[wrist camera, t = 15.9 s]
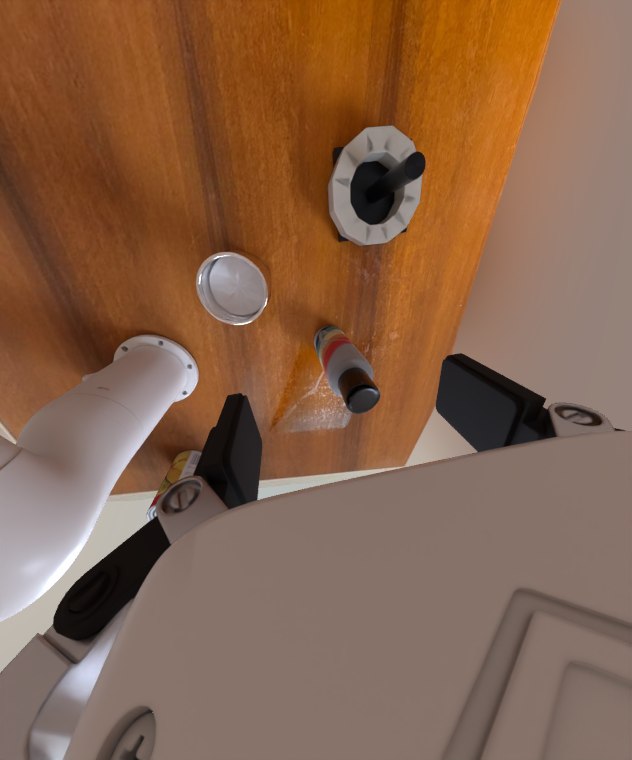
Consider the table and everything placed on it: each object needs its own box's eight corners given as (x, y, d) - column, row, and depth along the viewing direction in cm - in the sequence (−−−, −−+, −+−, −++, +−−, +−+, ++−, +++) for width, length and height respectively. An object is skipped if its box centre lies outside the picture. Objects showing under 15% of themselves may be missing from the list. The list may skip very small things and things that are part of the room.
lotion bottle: (328, 317, 39) (367, 367, 22) (350, 338, 42) (401, 397, 24) (306, 342, 41) (326, 405, 24) (329, 360, 43) (362, 431, 26)
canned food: (168, 468, 50) (139, 524, 40) (183, 445, 48) (156, 498, 38) (203, 479, 53) (185, 533, 43) (218, 458, 51) (203, 510, 41)
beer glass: (216, 274, 34) (176, 286, 21) (249, 240, 33) (228, 229, 19) (251, 310, 37) (236, 340, 24) (283, 280, 36) (284, 295, 23)
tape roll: (331, 248, 33) (335, 248, 31) (325, 141, 28) (329, 129, 25) (405, 240, 34) (416, 239, 32) (414, 134, 29) (427, 122, 26)
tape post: (338, 242, 34) (365, 235, 24) (332, 151, 29) (362, 92, 19) (402, 232, 35) (456, 222, 24) (407, 142, 30) (477, 79, 19)
